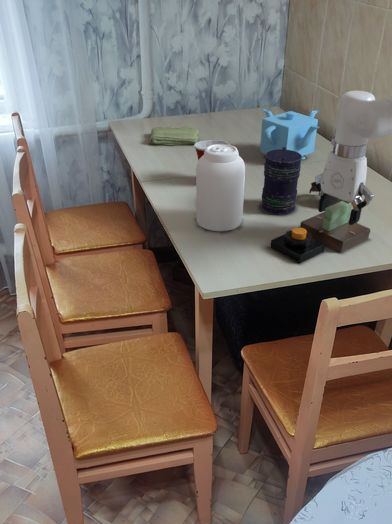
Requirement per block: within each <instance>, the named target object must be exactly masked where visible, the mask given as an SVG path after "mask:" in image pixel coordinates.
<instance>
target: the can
mask: <svg viewBox="0 0 392 524" xmlns="http://www.w3.org/2000/svg"><path fill="white" fill-rule="evenodd" d="M195 171H196V173H195V175H196V176H195V177H196V178H195V179H196V181H195V182H196V183H195V185H196V187H195V188H196V189H195V190H196V193H195V195H196V196H195V201H196V202H195V213H196V214H195V219H196V222H197V224H198V225H199V226H200V227H201V228H203V229H205V230H208V231H212V232H227V231H230V230H231V231H232V230H234V229H236V228H238V227H239V226H240V225H241V224H242V222H243V212H244V198H245V197H244V196H245V195H244V194H245V183H246V182H245V181H246V180H245V178H246V164H245V161H244V159H243V158H242V157H241V156H240V155H239V150H238V148H237V147H236V146H234V145H232V144H230V145H227V144H215V145H210V146H208V147H206V149H205V151H204V155H203V156H202V157H201V158H200V159H199V161H198V160H197V164H196V168H195Z"/></svg>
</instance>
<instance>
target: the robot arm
mask: <svg viewBox="0 0 392 524" xmlns="http://www.w3.org/2000/svg"><path fill="white" fill-rule="evenodd" d="M337 115H338V116H337V121H336V127H335V136H334V138H332V139H331V141H330V144H331V145H332V146H333V148H332V150H331V151H329V154H328V155H327V159H326V161H325V165H324V168H323V172H322V173H319V174H316V175H315V176H314V182H315V181H316V184H317V185H316V187H317V189H318V191H319V192H318V196H319V202H318V203H319V204H318V206H319V207H318V212H319V213H323V212H325V208H327V207H329V202H330V195H331V196H334V197H336V198H339V199H341V200H344V201H347V202H351V204H352V206H351V207H352V208H351V211H350V216H349V218H350V219H349V225H353V224H355V223H359V222H360V219H361V215H362V214H361V213H362V209H364V208H365V207H366V206H368V205H370V203H371V202H372V200H374V198H375V195H374V194H373V192H372V191H371V190H370V189H369V188H368V187H367V185H366V181H367V171H368V161H367V159H368V158H367V156H366V154H367V153H366V152H367V146H368V142H369V140H371V139H379V138H383V137H386V136H389V135H392V96H390V97H385V98H379V99H376V97H375V95H374V94H373V93H371V92H369V91H366V90H349V91H346V92H344V93H343V95H342V96H341V99H340V101H339V108H338V114H337ZM363 197H364V199H363Z"/></svg>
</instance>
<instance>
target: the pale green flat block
mask: <svg viewBox="0 0 392 524" xmlns="http://www.w3.org/2000/svg"><path fill="white" fill-rule="evenodd" d="M352 207H353V206H352V204H351V202H347V201H344V200H343V201H341V202H339V203H337V204H334V205H332V206H330V207H327V208H325V211H324V212H325V214H324V220H323V226H322V228H323V229H325V230H327V231H330V230H332V229H335V228H337V227H339V226H341V225H343V224H345V223H348V221H349V218H350V213H351V210H352Z"/></svg>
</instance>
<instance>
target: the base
mask: <svg viewBox="0 0 392 524" xmlns="http://www.w3.org/2000/svg"><path fill="white" fill-rule="evenodd" d="M324 214H325V211H323V212H320V213H318V214H316V215H313V216H312V217H309V218H307V219H304V220H303V221H300V224H299V227H300V228H304V229H306V230H307V232H309V233H311V235H312V238H314V239H316V240H318V241H320V242H322V243H324V244H325V247H329V248H331V249H333V250H335V251H337V252H339V253H343V252H346V251H347V250H350V249H351V248H354V247H356V246H358V245H359V244H362V243H364V242H366V241H368V240H369V237H370V234H371V228H369V227H367V226H365V225H362V224H360V223H359V222H357V223H355V224H353V225H349V221H348V223H345V224H343V225H341V226H339V227H337V228H335V229H332V230H330V231H327V230H325V229H323V228H322V226H323V220H324ZM349 219H350V217H349Z"/></svg>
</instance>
